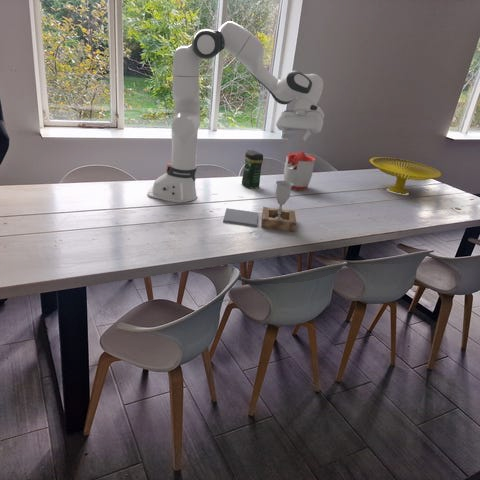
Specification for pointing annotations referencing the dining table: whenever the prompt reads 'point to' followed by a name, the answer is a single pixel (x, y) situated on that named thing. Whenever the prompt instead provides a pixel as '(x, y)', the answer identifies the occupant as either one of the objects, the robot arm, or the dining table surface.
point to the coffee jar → (252, 169)
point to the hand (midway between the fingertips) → (293, 139)
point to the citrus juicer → (298, 170)
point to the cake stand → (403, 172)
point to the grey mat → (240, 217)
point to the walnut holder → (279, 224)
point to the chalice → (282, 194)
